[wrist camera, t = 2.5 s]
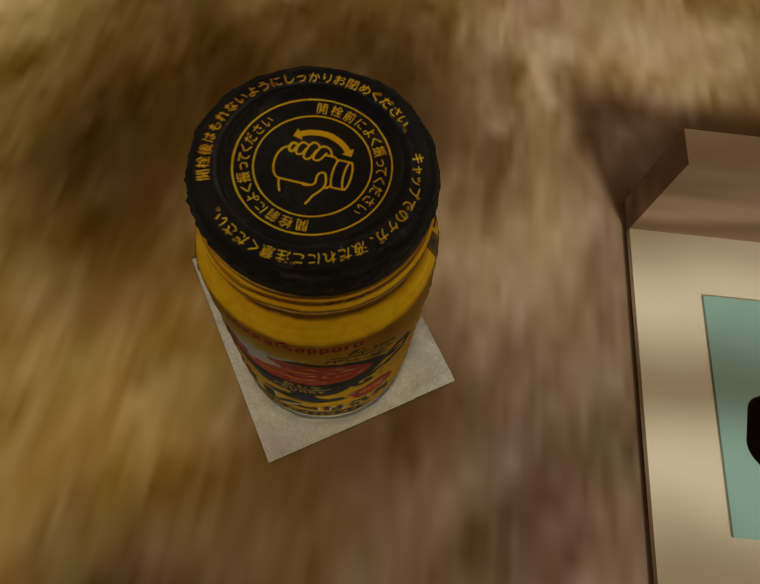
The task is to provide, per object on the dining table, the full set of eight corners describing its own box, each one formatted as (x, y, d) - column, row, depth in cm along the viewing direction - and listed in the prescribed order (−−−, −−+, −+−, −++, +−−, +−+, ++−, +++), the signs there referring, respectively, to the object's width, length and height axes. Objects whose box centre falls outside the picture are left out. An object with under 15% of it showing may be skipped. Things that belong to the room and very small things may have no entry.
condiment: (269, 463, 22) (199, 375, 11) (192, 260, 24) (74, 21, 13) (454, 382, 23) (562, 230, 12) (362, 199, 26) (382, -60, 15)
